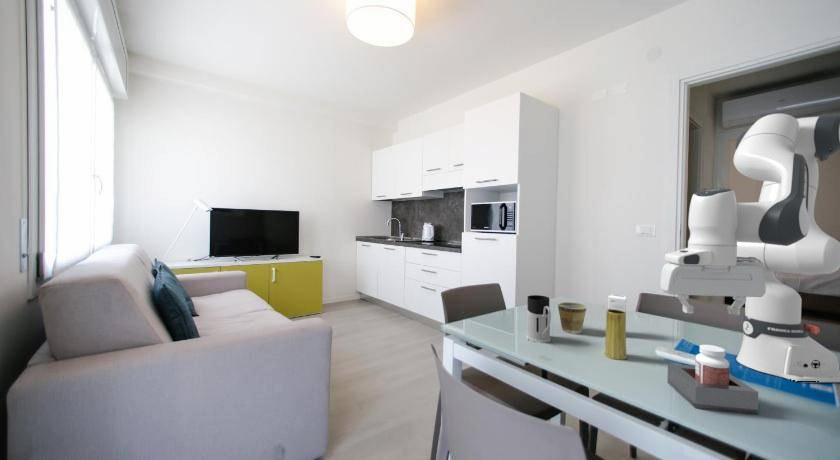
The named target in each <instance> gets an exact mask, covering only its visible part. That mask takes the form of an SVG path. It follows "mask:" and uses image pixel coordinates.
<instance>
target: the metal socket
mask: <svg viewBox="0 0 840 460" xmlns="http://www.w3.org/2000/svg"><path fill="white" fill-rule="evenodd" d="M667 384H668V385H669V386H671V388H672V389H674V390H675V392H677V393H678V394H679V395H680V396H682V398H684V399H685V401H687V402H688V403H689V404H690V405H691V406H693V408H694V409H701V410H712V411H721V412H722V411H723V412H731V413H740V414H741V413H742V414H752V415H758V414H759V391H757V390H756V389H754V388H753V387H752V386H749V385H748V384H746V383H745V382H743V381H742V380H741V379H739V378H738V377H736V376H734V375H733V374H731V373H729V386H728V385H716V384H704V383H699V382H698V381H697V380H696V379H695V365H689V364H688V365H684V364H675V363H674V364H671V363H667Z"/></svg>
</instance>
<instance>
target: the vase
mask: <svg viewBox="0 0 840 460" xmlns="http://www.w3.org/2000/svg"><path fill="white" fill-rule="evenodd" d="M605 317H606V318H605V319H606V321H605V339H604V340H605V342H604V343H605V345H604V348H605V349H604V356H606V357H607V358H610V359H611V360H612V359H613V360H618V361H620V360H621V361H624V360H627V358H628V356H627V355H628V354H627V336H626V335H627V334H626V333H627V332H626V330H627V329H626V326H627V320H626V319H627V311H626V312H624V311H621V310H616V309H606V316H605Z"/></svg>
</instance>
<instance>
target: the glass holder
mask: <svg viewBox="0 0 840 460" xmlns="http://www.w3.org/2000/svg"><path fill="white" fill-rule="evenodd" d="M551 313H552V312H551V309H550V297H549V296H546V295H540V294H538V295H537V294H535V295H534V294H533V295H531V294H530V295H528V296H527V309H526V335H525V339H526V338H527V339H529V340H532V341H535V342H534V343H537V342H540V343H539V344H546V342H547V343H549V342H551V341H552V338H551V336H550V334H551V331H550V329H551V326H550V325H551V318H552V317H551V316H552V315H551ZM527 339H526V340H527ZM529 340H528V341H529ZM532 341H531V342H532Z"/></svg>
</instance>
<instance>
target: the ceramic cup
mask: <svg viewBox="0 0 840 460" xmlns="http://www.w3.org/2000/svg"><path fill="white" fill-rule="evenodd" d="M557 308H558V314H559V320H560V325H561V330H563V332H565V333H568V334H573V335H574V334H575V335H576V334H577V335H578V334H580V333H581V332H582V330H583V327H584V320H585V317H586V313H587V306H586V305H585V304H582V303H579V302H578V303H577V302H568V301H567V302H565V301H564V302H559V303H557Z"/></svg>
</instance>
